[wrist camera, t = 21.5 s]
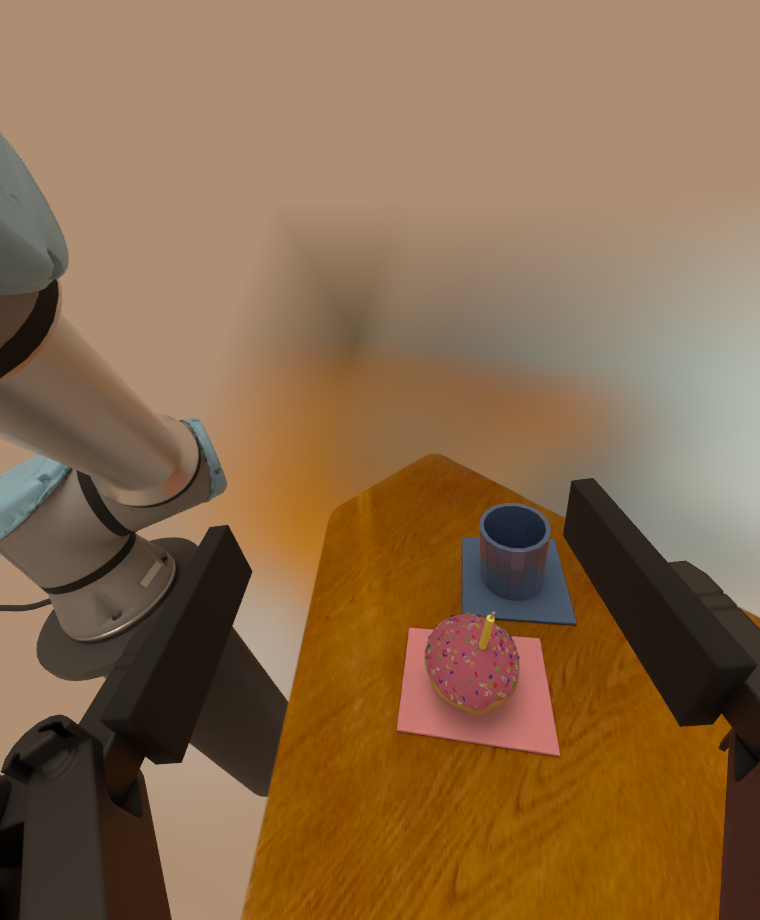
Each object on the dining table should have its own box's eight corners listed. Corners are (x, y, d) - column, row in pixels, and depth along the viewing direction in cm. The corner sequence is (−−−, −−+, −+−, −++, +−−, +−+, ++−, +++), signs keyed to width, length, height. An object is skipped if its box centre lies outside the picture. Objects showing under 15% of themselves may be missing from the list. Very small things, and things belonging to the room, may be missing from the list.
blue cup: (482, 600, 43) (481, 550, 38) (479, 552, 49) (478, 503, 44) (549, 604, 41) (557, 552, 36) (538, 553, 47) (543, 502, 42)
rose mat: (397, 731, 34) (396, 729, 33) (409, 629, 42) (409, 627, 41) (559, 756, 30) (560, 755, 30) (539, 640, 38) (539, 638, 38)
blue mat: (462, 617, 42) (462, 615, 41) (462, 539, 51) (462, 537, 51) (576, 625, 39) (576, 623, 38) (553, 540, 48) (554, 538, 48)
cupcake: (507, 638, 38) (510, 566, 32) (528, 733, 31) (538, 667, 25) (427, 640, 40) (413, 572, 33) (430, 732, 33) (415, 669, 26)
